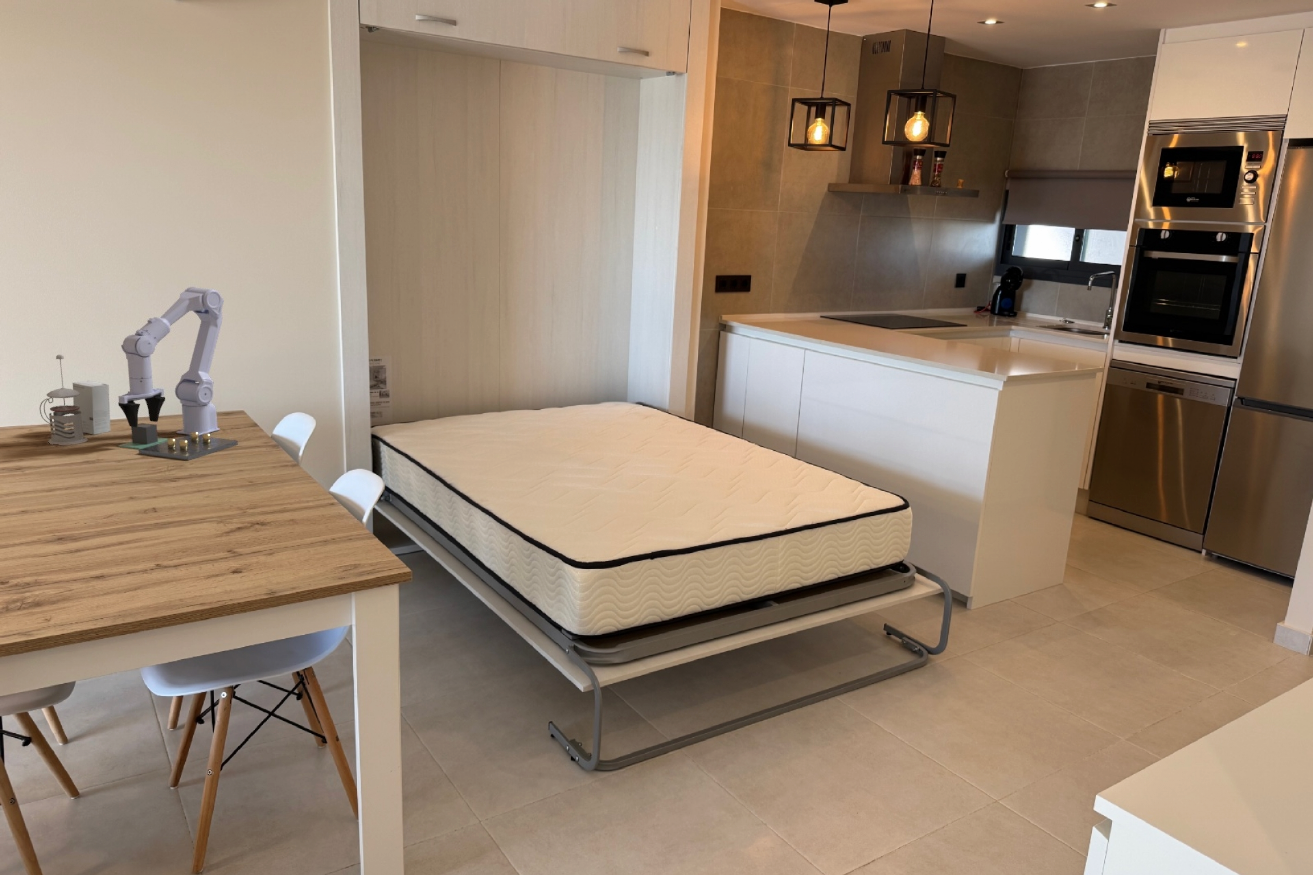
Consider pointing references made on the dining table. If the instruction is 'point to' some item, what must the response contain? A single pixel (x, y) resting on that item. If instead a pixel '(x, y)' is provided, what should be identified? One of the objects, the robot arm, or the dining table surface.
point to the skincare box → (93, 406)
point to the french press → (64, 417)
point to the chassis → (188, 446)
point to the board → (144, 437)
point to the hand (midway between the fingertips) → (143, 423)
